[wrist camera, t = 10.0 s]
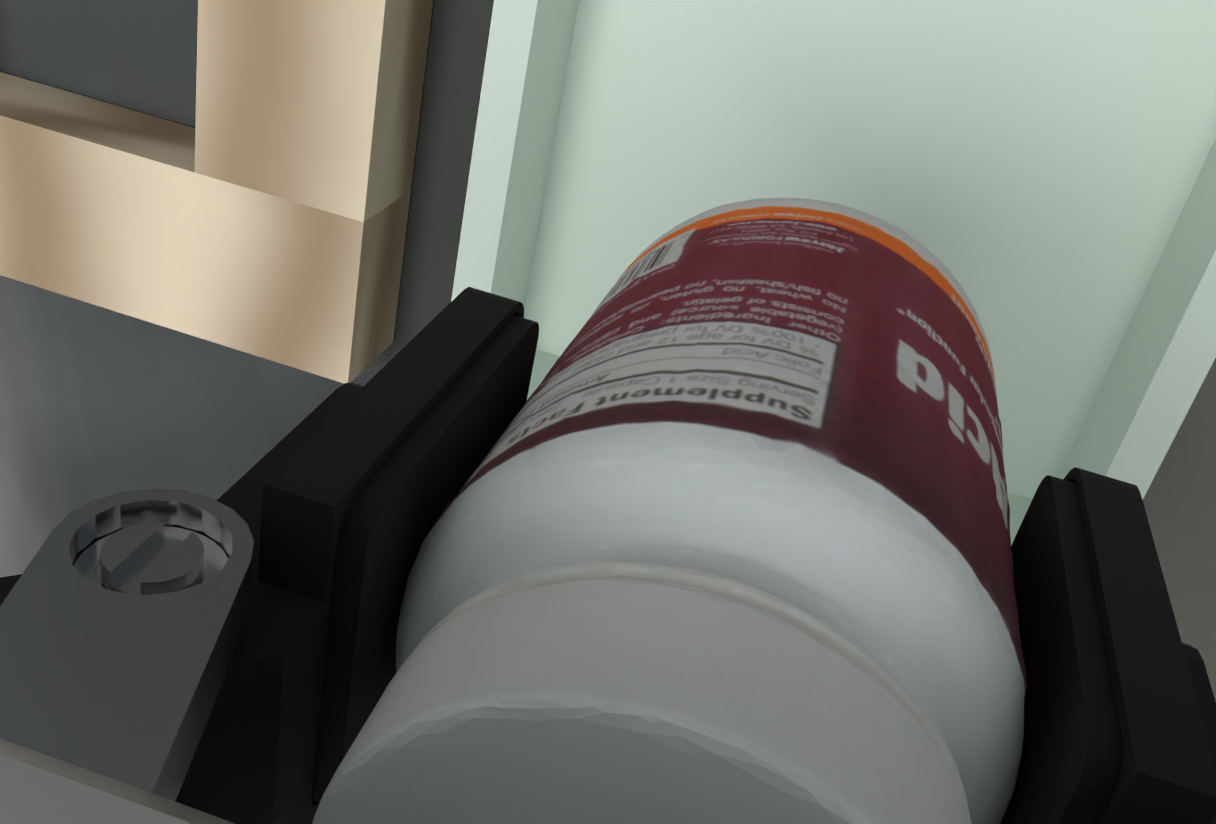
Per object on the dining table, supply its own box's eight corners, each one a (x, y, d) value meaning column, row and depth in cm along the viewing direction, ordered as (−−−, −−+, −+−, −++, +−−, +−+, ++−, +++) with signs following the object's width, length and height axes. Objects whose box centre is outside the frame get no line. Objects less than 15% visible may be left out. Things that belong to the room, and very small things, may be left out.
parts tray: (1386, -138, 20) (1466, -130, 17) (1065, 530, 26) (1080, 621, 23) (599, -312, 21) (541, -333, 18) (490, 353, 28) (434, 417, 25)
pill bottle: (1017, 534, 14) (1091, 1291, 7) (643, 558, 16) (380, 1197, 8) (973, 149, 12) (1011, 628, 5) (553, 220, 14) (119, 664, 7)
